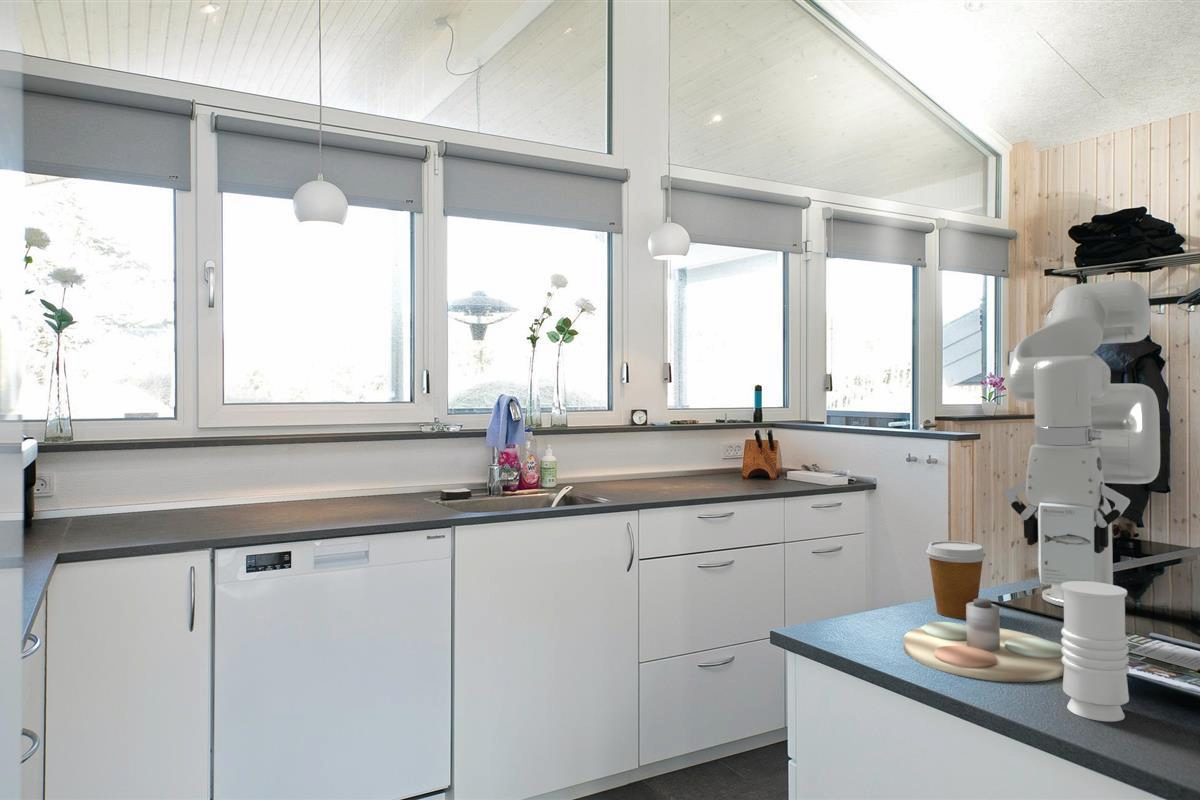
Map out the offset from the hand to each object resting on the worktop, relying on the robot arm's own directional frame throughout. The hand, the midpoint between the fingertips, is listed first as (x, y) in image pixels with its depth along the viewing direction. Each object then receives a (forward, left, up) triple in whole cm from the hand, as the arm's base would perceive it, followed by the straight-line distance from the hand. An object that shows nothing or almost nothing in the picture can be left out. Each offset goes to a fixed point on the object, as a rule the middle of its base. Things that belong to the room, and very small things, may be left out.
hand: (1065, 547), depth 120 cm
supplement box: (0, 0, -6) cm, 6 cm away
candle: (+28, +10, -15) cm, 33 cm away
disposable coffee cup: (-3, -18, -15) cm, 23 cm away
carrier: (+16, -7, -14) cm, 23 cm away
